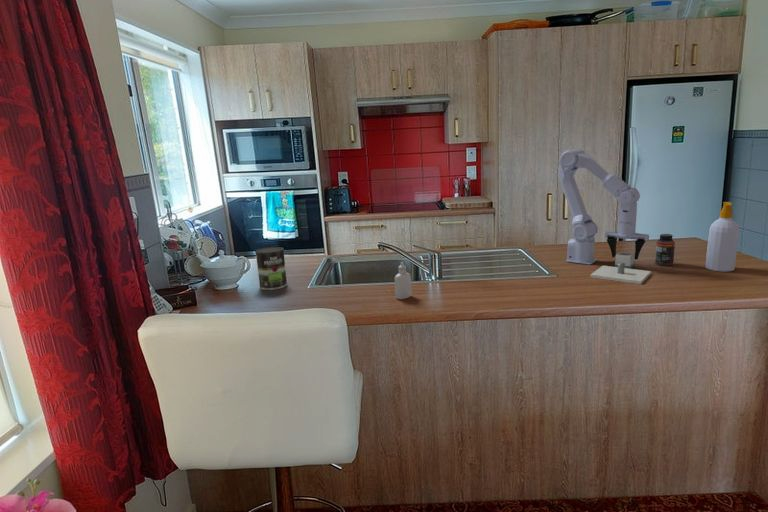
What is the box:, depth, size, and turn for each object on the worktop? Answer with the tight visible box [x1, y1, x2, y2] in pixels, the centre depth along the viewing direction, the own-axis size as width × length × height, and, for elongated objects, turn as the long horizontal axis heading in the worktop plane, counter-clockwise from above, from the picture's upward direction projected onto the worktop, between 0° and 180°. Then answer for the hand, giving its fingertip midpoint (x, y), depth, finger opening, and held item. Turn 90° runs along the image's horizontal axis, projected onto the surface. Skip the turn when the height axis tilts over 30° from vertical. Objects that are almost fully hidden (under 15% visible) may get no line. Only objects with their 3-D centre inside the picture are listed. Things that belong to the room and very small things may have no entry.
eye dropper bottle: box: [394, 261, 412, 300], centre depth 153 cm, size 4×6×12 cm
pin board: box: [590, 263, 652, 285], centre depth 164 cm, size 16×14×4 cm
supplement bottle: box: [654, 233, 676, 267], centre depth 174 cm, size 6×6×11 cm
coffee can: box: [255, 246, 288, 291], centre depth 174 cm, size 10×10×14 cm
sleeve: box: [614, 251, 635, 269], centre depth 174 cm, size 5×5×5 cm
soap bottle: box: [704, 201, 740, 273], centre depth 163 cm, size 9×9×24 cm
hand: (624, 257), depth 173 cm, fingers open, 7 cm apart
